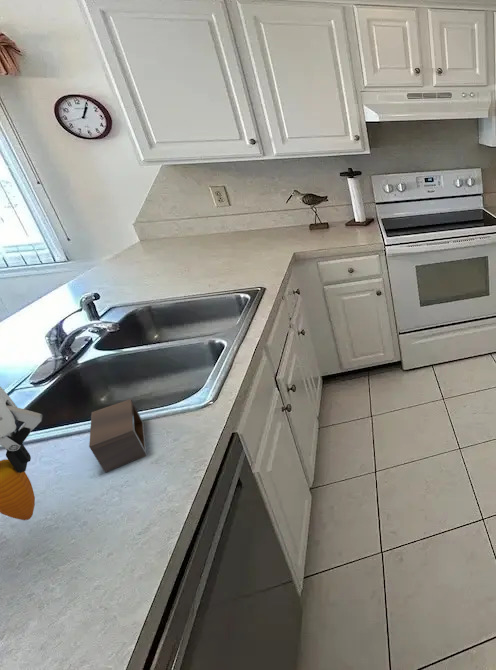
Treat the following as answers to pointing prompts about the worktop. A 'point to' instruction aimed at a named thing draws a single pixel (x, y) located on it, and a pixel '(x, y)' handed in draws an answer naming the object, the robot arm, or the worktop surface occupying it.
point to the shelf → (117, 435)
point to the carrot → (15, 492)
